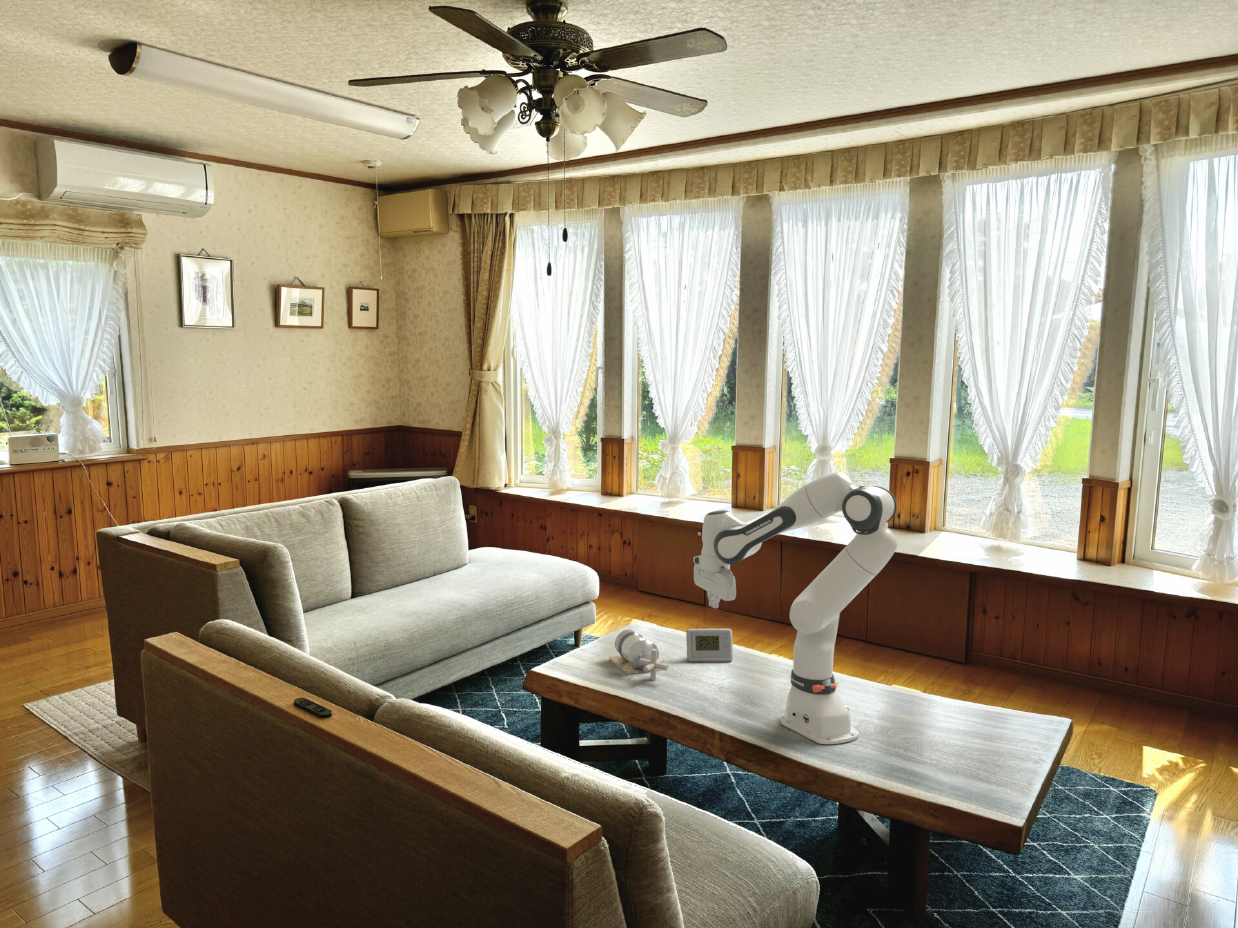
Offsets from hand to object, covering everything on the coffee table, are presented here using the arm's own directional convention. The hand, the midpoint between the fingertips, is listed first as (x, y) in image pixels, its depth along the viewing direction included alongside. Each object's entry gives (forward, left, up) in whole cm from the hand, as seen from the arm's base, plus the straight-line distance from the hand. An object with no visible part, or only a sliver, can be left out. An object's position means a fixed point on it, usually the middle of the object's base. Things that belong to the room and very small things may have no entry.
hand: (713, 606), depth 256 cm
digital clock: (+24, -13, -27) cm, 39 cm away
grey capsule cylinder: (+28, +13, -27) cm, 41 cm away
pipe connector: (+15, +13, -27) cm, 34 cm away
